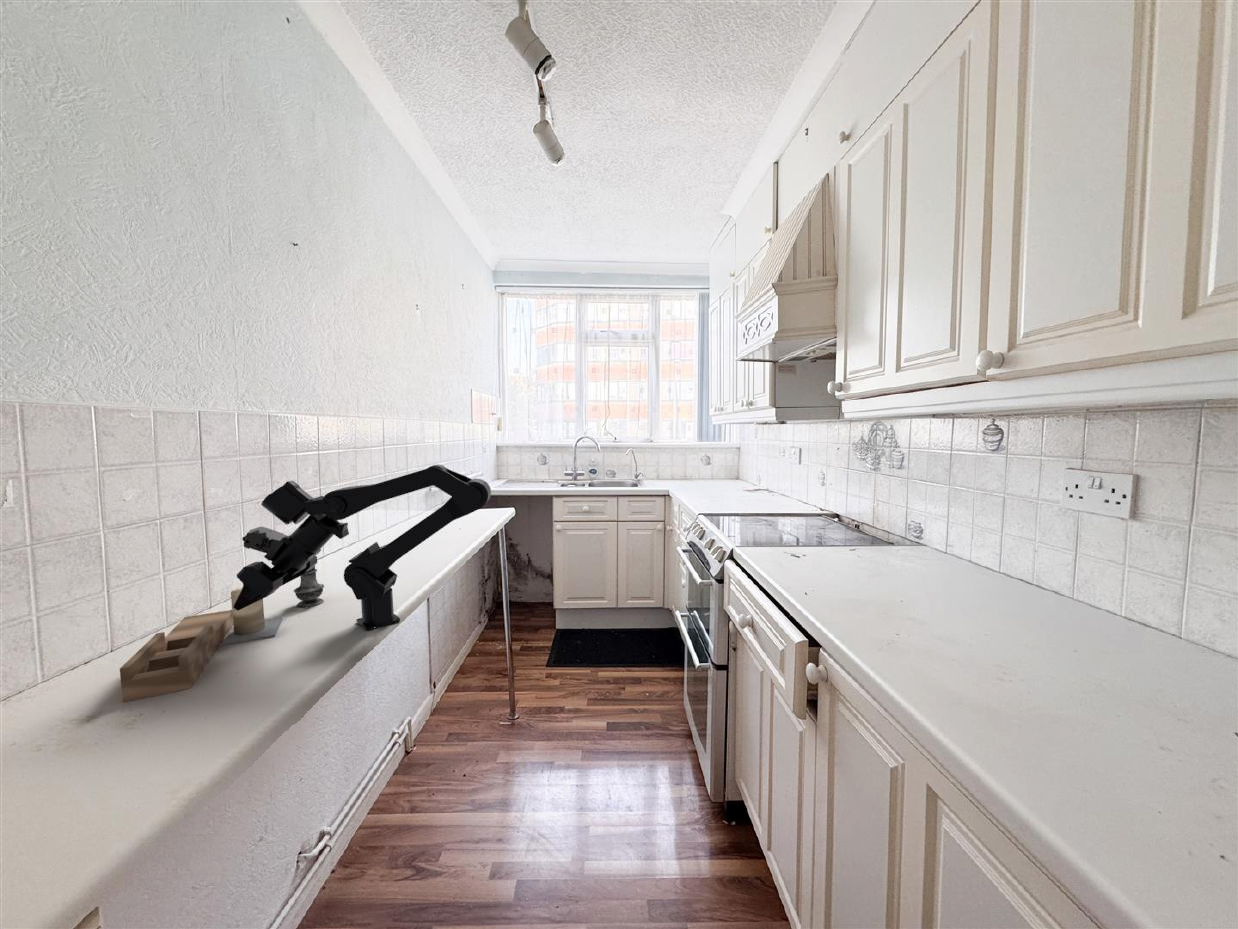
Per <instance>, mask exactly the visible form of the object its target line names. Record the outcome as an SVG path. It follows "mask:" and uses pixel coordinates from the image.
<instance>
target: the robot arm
mask: <svg viewBox="0 0 1238 929" xmlns="http://www.w3.org/2000/svg"><path fill="white" fill-rule="evenodd" d="M429 487H435V488H437V489H439V490H440V491H443V493H445V494H447V495H449V496H450V498H449V499H448V500H447V501H446V502H445V503H444V504H443V505H442V506H441V507H439V508H437V509H436V510H435V511H433V512H432V513H431V514H429V515H428V516H426V517H425V518H423V519H422V520H420V521H419V522H418V523H416V524H414V525H413V526H412V527H410V528H409V529H408V530H406V531H405V532H403V533H402V534H400V535H399V536H397V537H396V538H395V539H393V540H392V541H391V542H389V543H387V544H384V545H383V546H380V545H379V543H378V542H377V541H375V542H374V543H373V544H371V545H369V546H368V547H367V548H365V549H364V550H363V551H360V552H359V553H358V554H356V555H355V556H354V557H352V558H350V559H349V560H348V563H350V564H348V565H347V566H346V567H345V568H344V570H343V580H344V582H345V584H346V586H348V588H350V589H351V591H352V592H353V594H354V596H355V599H356V600H360V602H361V603H360V607H361V617H360V618H357V619H355V621H356V623H357V624H358V625H359V626H360V627H361V628H363V629H364V630H365V631H368V630H367V629H370V630H372V629H371V628H373V629H375V628H374V627H377V628H379V627H383V626H387V625H390V624H395V623H397V622H400V621H401V617H399V616H398V615H397V614H395V612H394V596H393V595H394V594H393V588H392V587H393V586H395V584H396V582H397V578H398V574H397V573H395V572H394V570H392V569H390V568H391V567H392V566H393V565H394V564H395V563H396V562H397V561H398V560H399V559H401V558H402V557H403V556H404V555H406V554H408V553H409V552H411V551H412V550H414V549H415V548H416V547H418V546H420V545H421V544H422V543H423V542H425V541H427V540H428V539H429V538H430V537H432V536H433V535H435V534H436V533H437V532H439V531H440V530H442V529H443V528H444V527H446V526H447V525H449V524H450V523H452V522H453V521H456V520H458V519H460V518H463V517H465V516H467V515H470V514H472V513H474V512H475V511H479V510H480V509H482V508H483V507H484V506H486V504H487V502H488V501H489V500H490V498H491V494H492V491H491V486H490V485H489V483H488V482H487V481H486V480H485V479H481V478H470V477H468V476H467V475H464V474H461V473H459V472H456V471H454V470H451V469H449V468H447V467H446V466H445V465H443V464H439V463H438V464H433V465H431V466H429V467H427V468H425V469H421V470H418V471H413V472H411V473H408V474H405V475H400V476H398V477H394V478H390V479H388V480H385V481H381V482H378V483H373V484H372V483H371V484H363V485H362V484H361V485H352V486H346V487H342V488H338V489H335V490H332V491H329V492H328V493H326V494H325V495H321V496H320V495H319V496H316V497H313V496H312V495H311V494H309V493H308V492H307V491H305V490H304V489H303V488H302V487H301V486H300V485H299V484H298V483H297V482H296V481H294V480H289V481H288V480H287V481H286V482H285V483H284V484H283V485H281V486H280V487H278V488H277V489H275V490H274V491H273V492H271V493H268V495H266V496H265V498H264V499H263V500H262V502H261V504H260V505H261V506H262V507H263V508H264V509H265V510H267V511H268V512H269V513H271V515H273V516H274V517H276V518H277V519H278V520H280V521H281V522H282V523H283V524H285V525H289V524H292V523H293V524H294V525H298V524H299V523H301V522H302V523H301V524H299V526H298V527H297V528H296V529H295V530H294V531H293V532H292V533H290V535H287V534H285V533H284V532H279V531H277V530H275V529H272V528H268V527H266V526H258V527H255V528H253V529H250V530H249V531H248V532H247V533H246V534H245V535H244V536H242V542H243V547H244V548H245V549H251V550H254V551H257V552H260V553H264V554H265V555H264V556H263V558H265V559H266V560H267V561H271V562H270V563H271V565H272V566H273V567H270V566H269V565H268V564H267V563H265V562H264V561H254V562H252V563H250V564H248V565H245V566H243V568H242V569H240V571H239V572H237V574H236V578H237V579H238V580H239V581H240V582H241V583H242V587H243V588H242V587H241V588H242V590H241V592H240V594H239V596H238V598H237V600H236V602H235V604H234V606H233V607H234V608H235V609H236V610H240V609H242V608H244V607H247V606H249V605H251V604H253V603H255V602H257V601H259V600H261V599H263V600H264V598H267V597H269V596H271V595H272V594H274V593H275V592H276V591H277V590H278V589H279V588H280V587H282V586H284V585H286V584H288V583H290V582H292V581H294V580H295V579H298V578H300V576H301V575H303V574H305V573H306V572H307V571H309V570H311V569H312V568H313V567H314V566H315V567H316V565H317V564H318V557H317V555H319V554H320V552H322V548H323V547H324V546H325V545H326V544H327V543H328V542H329V541H330V540H331V538H332V537H333V536H335V537H337V538H338V539H341V540H342V539H344V538H345V537H347V536H348V535H349V534H350V531H349V529H348V528H349V527H348V525H349V523H348V522H340V521H342V520H345V519H347V518H349V517H351V516H353V515H355V514H358V513H359V512H361V511H364V510H366V509H368V508H370V507H372V506H374V505H376V504H377V503H380V502H384V501H386V500H389V499H394V498H396V497H400V496H402V495H403V496H404V495H406V494H411V493H413V492H416V491H419V490H422V489H426V488H429ZM304 519H305V520H304ZM306 566H307V567H306ZM305 567H306V568H305Z"/></svg>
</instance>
